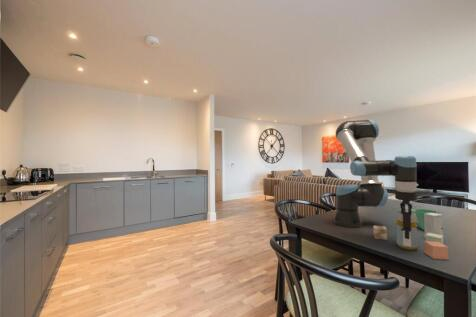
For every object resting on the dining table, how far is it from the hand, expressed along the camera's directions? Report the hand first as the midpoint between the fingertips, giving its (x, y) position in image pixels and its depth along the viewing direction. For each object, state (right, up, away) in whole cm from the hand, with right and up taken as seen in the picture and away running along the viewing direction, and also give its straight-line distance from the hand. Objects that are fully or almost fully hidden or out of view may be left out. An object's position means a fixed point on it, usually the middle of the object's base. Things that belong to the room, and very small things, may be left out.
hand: (406, 242), depth 92 cm
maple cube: (-4, -2, +12) cm, 12 cm away
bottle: (0, -2, 0) cm, 2 cm away
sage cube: (+13, -2, 0) cm, 13 cm away
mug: (+27, -2, +23) cm, 36 cm away
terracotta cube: (+5, -2, -9) cm, 10 cm away
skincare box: (+20, -2, +9) cm, 22 cm away
